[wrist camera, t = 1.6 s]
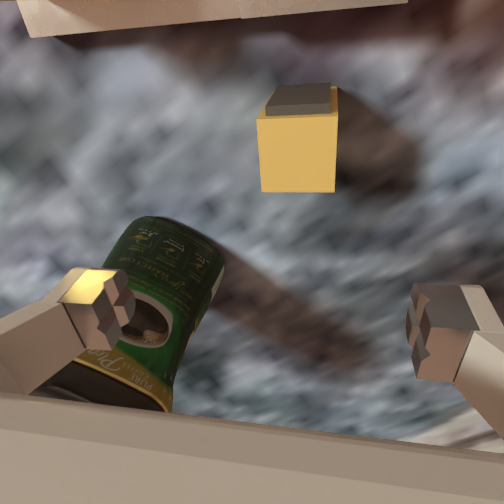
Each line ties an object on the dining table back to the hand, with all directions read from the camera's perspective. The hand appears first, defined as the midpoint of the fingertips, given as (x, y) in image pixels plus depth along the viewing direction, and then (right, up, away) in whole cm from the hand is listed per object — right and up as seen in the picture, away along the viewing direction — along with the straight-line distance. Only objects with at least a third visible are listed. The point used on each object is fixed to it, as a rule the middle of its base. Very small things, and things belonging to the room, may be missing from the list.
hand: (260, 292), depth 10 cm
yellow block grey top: (+3, +10, +14) cm, 18 cm away
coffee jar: (-7, +1, +23) cm, 25 cm away
